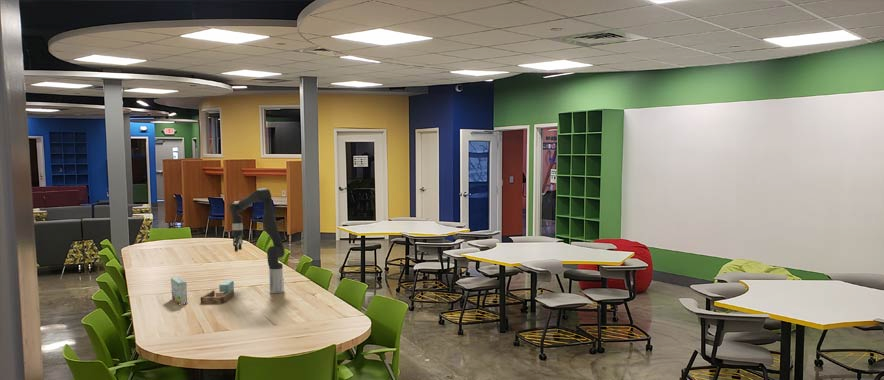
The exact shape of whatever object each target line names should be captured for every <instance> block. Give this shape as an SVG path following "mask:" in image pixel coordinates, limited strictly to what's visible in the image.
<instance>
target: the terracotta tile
mask: <svg viewBox="0 0 884 380" xmlns="http://www.w3.org/2000/svg"><path fill="white" fill-rule="evenodd" d="M224 295H225V291H219V290H218V291H216V292H215V297H222V296H224Z"/></svg>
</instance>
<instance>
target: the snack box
mask: <svg viewBox="0 0 884 380" xmlns="http://www.w3.org/2000/svg"><path fill="white" fill-rule="evenodd" d="M170 284H171V286H170V287H171V299H172V300H173V301H174V300H175V301H176V302H177V304H178V303H179V304H183V305H185V304H184V303H187V304H188V289H187V281H185V280H184V279H183V278H181V277H180V276H173V277H171V278H170ZM175 301H174V302H175ZM176 302H175V303H176ZM179 304H178V305H179Z"/></svg>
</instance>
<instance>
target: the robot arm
mask: <svg viewBox="0 0 884 380" xmlns="http://www.w3.org/2000/svg"><path fill="white" fill-rule="evenodd" d="M257 202H259V203H261V202H263V203H264V211H263V215H262V225H263V229H264V231H265V232H266V234H267V235H268V237H270V239H271V241H272V244H273V245H271V246H269V247H268V248H267V252H266V255H267V264H268V268H269V269H268V275H269V277H268V278H269V281H268V282H269V293H270V294H282V293H284V291H285V282H284V281H285V278H284V277H283V276H284V271H283V263H281V262H279V259H281V258H283V257H284V256H285V247H284V245H283V242H282V238H281V235H280V232H279V228H278V223H277V219H276V216H275V211H274V206H273V200H272V193H271V191H270V189H269V188H266V187H265V188H263V187H262V188H258V189H255V190H254V191H252V192H251V193H250V194H249V195H248V196H246V197H244V198H242V199H241V200H239V202H232V203H231V204H230V205H229V211H230V216H231V218H232V221H231V222H232V226H231V227H232V228H231V229H232V231H231V232H232V233H231V234H232V236H233V238H232V241H233V242H232V246H233V248H234V252H235V253H236V252H238V251H241V250H243V249H242V247H243V246H242V245H243V242H244V241H243V235H244V225H243V216H242V215H241V214H239V213H241V212H243V211H245V210H246V209H248V208H249V207H252V205H253V203H254V204H255V203H257Z"/></svg>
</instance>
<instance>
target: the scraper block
mask: <svg viewBox="0 0 884 380" xmlns="http://www.w3.org/2000/svg"><path fill="white" fill-rule="evenodd" d="M218 288H219V289H218V291H225V294H227V293H228V292H230V291H231V290H234V291H235V283H234V280H223V282H222V283H220V284H219V287H218Z"/></svg>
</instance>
